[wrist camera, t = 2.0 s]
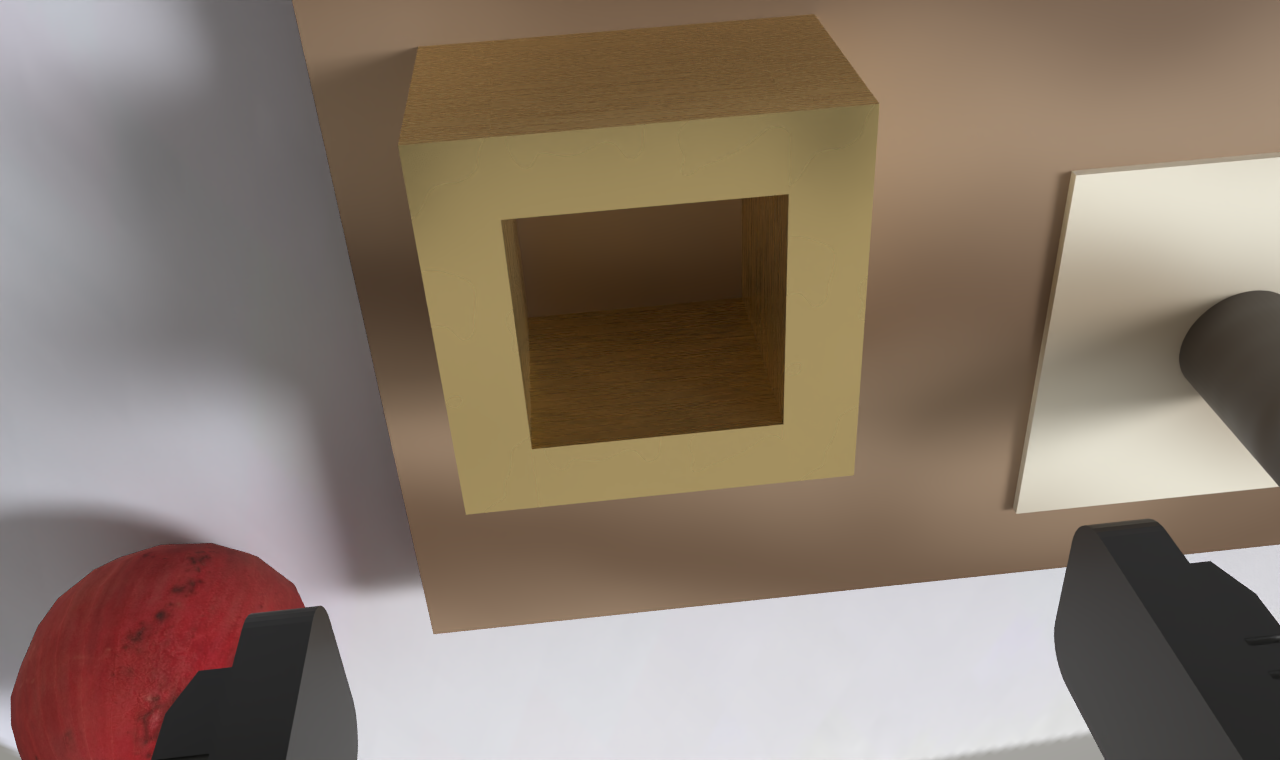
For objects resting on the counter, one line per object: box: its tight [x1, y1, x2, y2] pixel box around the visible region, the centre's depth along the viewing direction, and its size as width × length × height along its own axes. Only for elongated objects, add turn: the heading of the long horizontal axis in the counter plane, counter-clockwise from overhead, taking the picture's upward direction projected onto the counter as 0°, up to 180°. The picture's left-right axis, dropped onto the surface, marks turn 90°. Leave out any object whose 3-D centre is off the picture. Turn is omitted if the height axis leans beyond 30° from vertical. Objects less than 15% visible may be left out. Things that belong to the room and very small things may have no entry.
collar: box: [398, 14, 880, 515], centre depth 19 cm, size 6×6×4 cm
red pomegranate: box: [11, 543, 305, 760], centre depth 23 cm, size 6×6×8 cm
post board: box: [292, 0, 1280, 634], centre depth 20 cm, size 16×22×8 cm
